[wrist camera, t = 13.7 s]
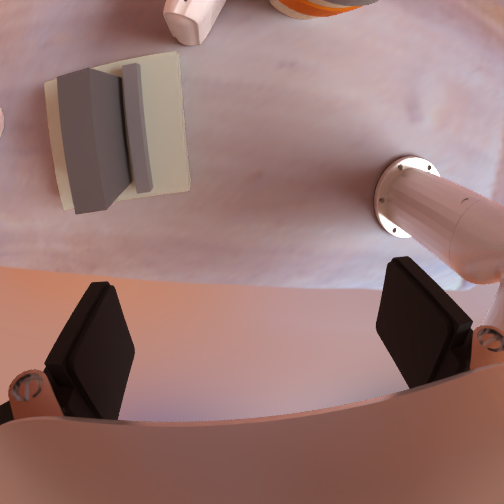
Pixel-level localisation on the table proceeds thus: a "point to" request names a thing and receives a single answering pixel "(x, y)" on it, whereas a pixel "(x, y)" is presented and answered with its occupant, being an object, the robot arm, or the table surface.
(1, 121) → the white cup
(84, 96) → the thin grey panel
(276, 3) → the reusable coffee cup
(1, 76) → the table surface
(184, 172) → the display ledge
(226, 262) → the table surface
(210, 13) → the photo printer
